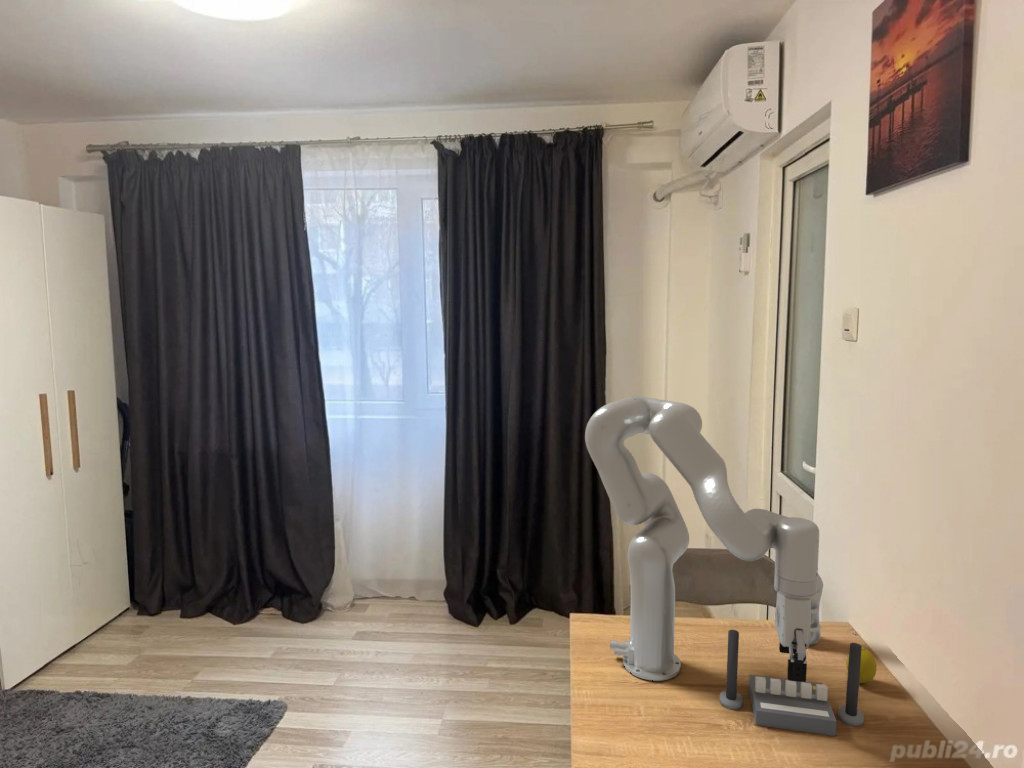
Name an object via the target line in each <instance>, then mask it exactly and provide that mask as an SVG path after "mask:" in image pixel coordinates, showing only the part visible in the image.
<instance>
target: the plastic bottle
mask: <svg viewBox="0 0 1024 768" xmlns="http://www.w3.org/2000/svg"><path fill="white" fill-rule="evenodd" d="M823 589H824V582H823V580H822V577H821V575H820V574H819V573H818V576H817V595H816V596H815V597H813V598H811V626H810V643H809V646H813V645H816V644H817V643H818V642H819V641H820V639H821V625H820V604H821V599H822V593H823Z"/></svg>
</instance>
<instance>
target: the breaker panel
mask: <svg viewBox="0 0 1024 768" xmlns="http://www.w3.org/2000/svg"><path fill="white" fill-rule="evenodd" d="M755 676H756V677H765V679H766V689H770V678H773V679H780V681H781V691H785V681H786V680H788V678H781V677H775V676H774V677H773V676H766V675H765V676H763V675H756V674H748V691H749V697H750V698H749V699H750V702H751V707H752V713H753V719H754V723H755V726H760V727H767V728H774V729H775V728H776V729H782V730H788V731H789V730H790V731H797V732H801V733H802V732H804V733H811V734H816V735H817V734H818V735H826V736H833V737H836V734H837V718H836V716H835V713H834V711H833V708H832V706H831V703H830V701H829V698H828V697H827V701H822V700H817V699H813V698H811V699H806V698H801V697H797V696H796V697H791V696H786V695H775V694H771V693H766V692H765V693H760V692H756V691H755ZM795 682H796V693H800V688H801V682H797V681H795ZM805 683H811V685H812V695H816V684H822V685H823V683H821V682H816V681H815V682H812V681H807V680H806V682H805Z"/></svg>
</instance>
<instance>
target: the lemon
mask: <svg viewBox="0 0 1024 768" xmlns="http://www.w3.org/2000/svg"><path fill="white" fill-rule="evenodd" d="M848 664H849V653H848V655H847V658H846V670H847V671H848ZM876 673H877V661H876V658H875V656H874V654H873V653H872V652H871V651H870V650H868V649H866V648H865V647H864V646H862V650H861V664H860V678H859V684H863V683H869V682H871V681H872V680H873V679H874V678H875V676H876Z"/></svg>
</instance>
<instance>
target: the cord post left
mask: <svg viewBox="0 0 1024 768" xmlns="http://www.w3.org/2000/svg"><path fill="white" fill-rule="evenodd" d="M727 635H728V637H727V657H726V658H727V659H726V660H727V661H726V685H725V687H726V689H725V690H724V691H721V692H720V693H719V704H720V705H721V706H722V707H723V708H725V709H727V710H733V711H737V710H740V709H742V708H743V703H744V701H743V700H744V699H743V696H742V695H741V694H739V693H738V691H737V690H738V689H737V688H738V672H739V671H738V670H739V669H738V666H739V665H738V664H739V641H740V632H739V631H738V630H736V629H729V630H728V633H727Z"/></svg>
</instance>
